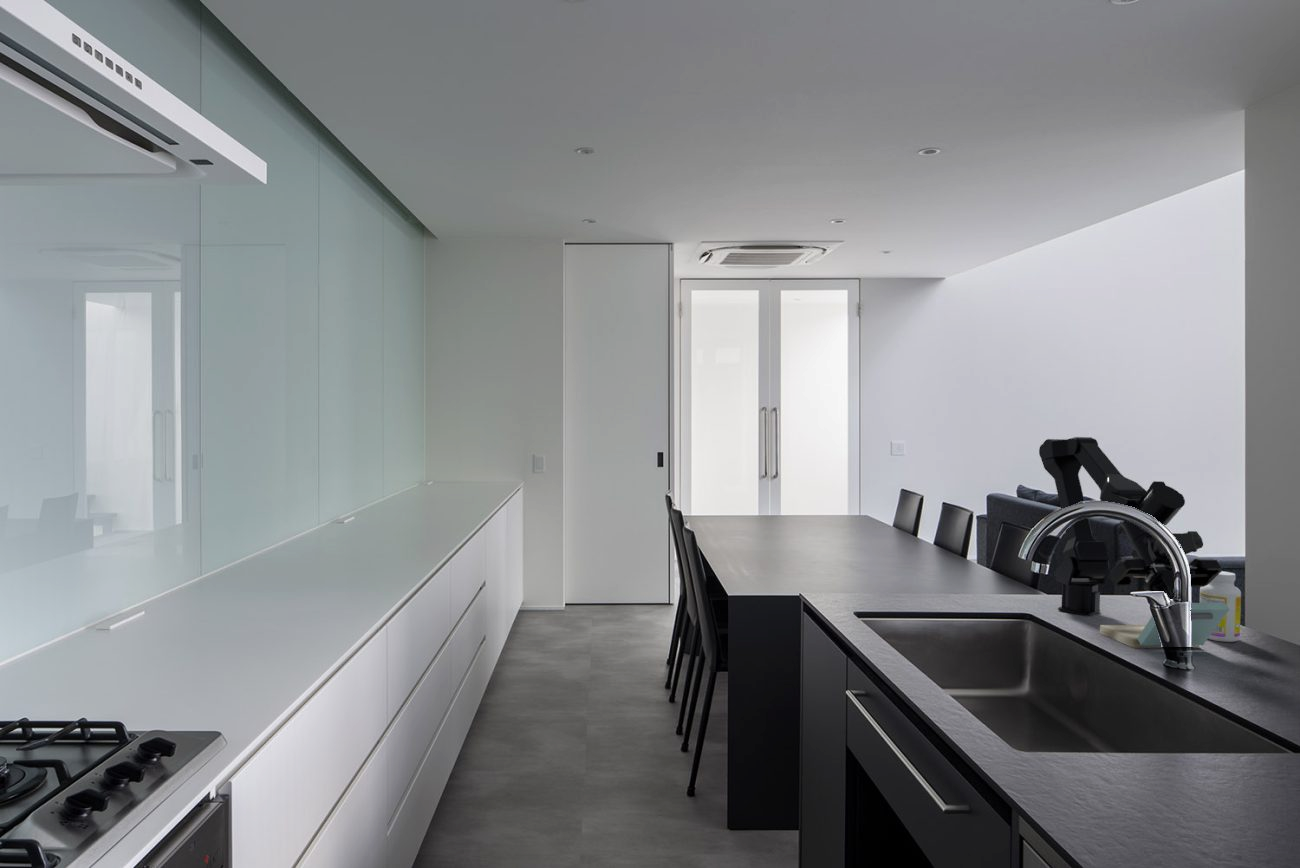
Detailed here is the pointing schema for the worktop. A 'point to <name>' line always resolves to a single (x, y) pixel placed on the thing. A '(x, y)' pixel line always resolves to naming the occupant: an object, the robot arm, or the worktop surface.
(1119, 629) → the plate
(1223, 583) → the supplement bottle
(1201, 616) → the panel
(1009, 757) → the worktop surface
